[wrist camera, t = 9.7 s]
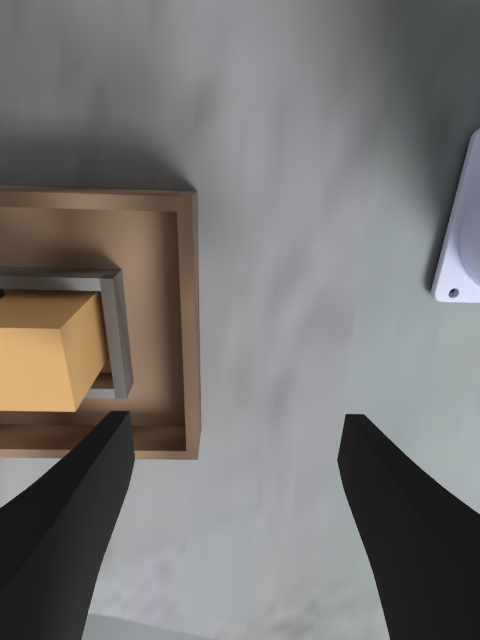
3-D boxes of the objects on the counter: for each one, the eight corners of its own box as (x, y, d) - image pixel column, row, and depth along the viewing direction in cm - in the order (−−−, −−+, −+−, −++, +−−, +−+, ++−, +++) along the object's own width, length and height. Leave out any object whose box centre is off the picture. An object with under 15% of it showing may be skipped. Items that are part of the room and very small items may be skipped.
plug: (98, 289, 18) (59, 328, 14) (107, 359, 20) (75, 411, 16) (17, 288, 18) (-45, 326, 14) (33, 357, 20) (-19, 410, 16)
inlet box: (197, 191, 17) (191, 196, 15) (201, 429, 23) (197, 459, 21) (-113, 181, 17) (-167, 186, 14) (-29, 426, 22) (-59, 456, 20)
